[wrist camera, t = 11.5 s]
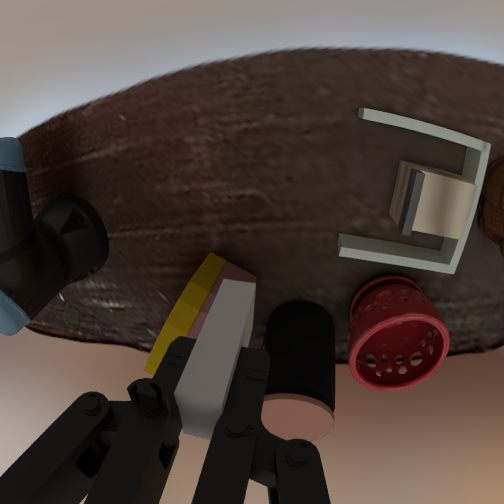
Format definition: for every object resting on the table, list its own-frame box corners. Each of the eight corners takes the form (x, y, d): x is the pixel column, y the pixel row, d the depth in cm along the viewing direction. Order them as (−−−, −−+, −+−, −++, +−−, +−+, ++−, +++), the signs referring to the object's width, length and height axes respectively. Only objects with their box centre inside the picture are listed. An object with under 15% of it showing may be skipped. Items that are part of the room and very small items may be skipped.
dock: (337, 241, 40) (339, 255, 36) (359, 107, 31) (364, 107, 28) (444, 259, 37) (453, 274, 34) (476, 138, 29) (490, 144, 26)
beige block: (388, 212, 37) (401, 234, 31) (399, 159, 33) (416, 172, 27) (447, 224, 35) (467, 247, 29) (460, 174, 32) (484, 190, 26)
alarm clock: (225, 333, 51) (190, 423, 35) (181, 310, 51) (133, 394, 35) (266, 270, 44) (237, 369, 28) (215, 242, 43) (158, 328, 27)
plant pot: (433, 317, 42) (453, 373, 32) (358, 343, 47) (362, 402, 37) (418, 249, 38) (446, 301, 27) (331, 281, 43) (333, 340, 32)
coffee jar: (258, 305, 47) (229, 401, 31) (328, 293, 44) (327, 394, 28) (277, 353, 51) (259, 444, 35) (339, 345, 48) (339, 440, 32)
